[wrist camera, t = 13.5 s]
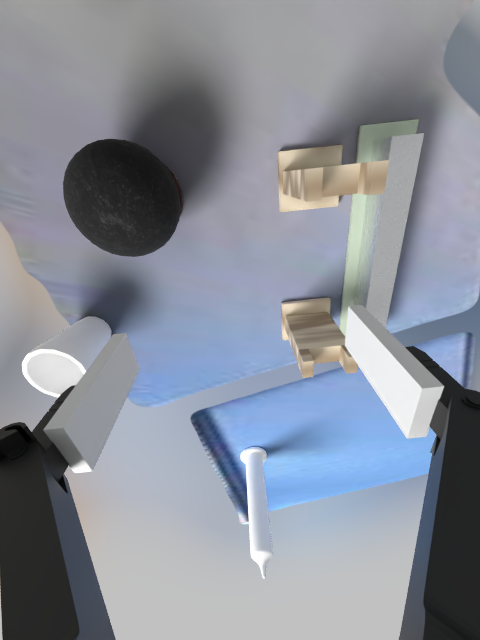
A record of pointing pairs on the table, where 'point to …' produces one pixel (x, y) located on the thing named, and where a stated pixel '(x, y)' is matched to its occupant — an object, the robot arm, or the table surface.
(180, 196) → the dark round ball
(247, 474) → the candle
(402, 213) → the rail
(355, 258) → the mat
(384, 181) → the cradle posts
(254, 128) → the table surface
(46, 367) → the foam cup
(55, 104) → the table surface
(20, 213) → the table surface
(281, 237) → the table surface
